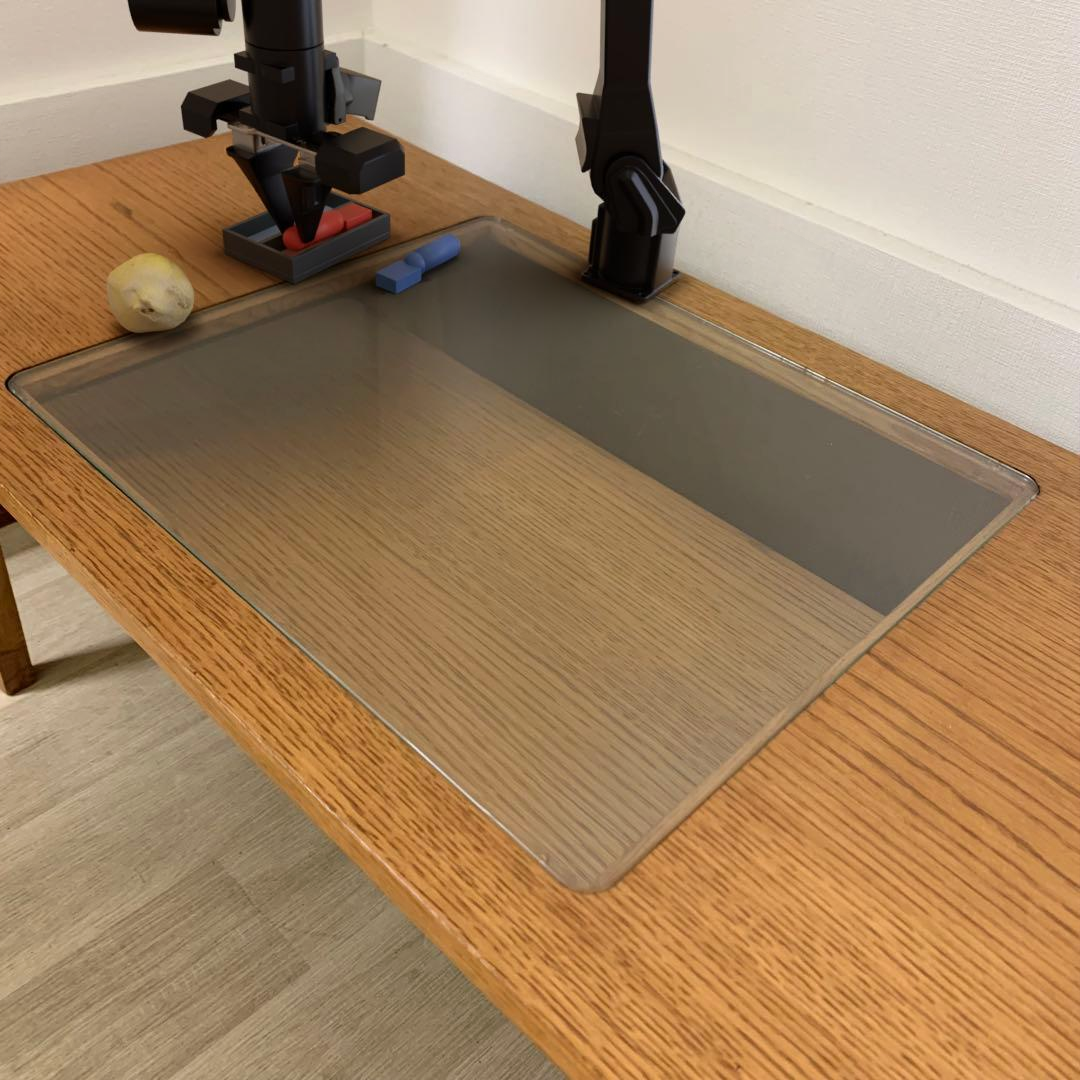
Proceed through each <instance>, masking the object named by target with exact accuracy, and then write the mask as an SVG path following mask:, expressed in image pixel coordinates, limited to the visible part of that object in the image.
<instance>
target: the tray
mask: <svg viewBox="0 0 1080 1080" xmlns="http://www.w3.org/2000/svg"><path fill="white" fill-rule="evenodd" d="M351 203H354V204H357V205H360V206H362V207H365V208H367V209H370V210H371V211H372V220H370V221H368V222H366V223H364V224H362V225H359V226H357V227H355V228H353V229H351V230H349V231H347V232H344V233H343V232H339V233H337V234H335V235H333V236H331V237H329V238H326V239H324V240H322V241H320V242H318V243H316V244H314V245H311V246H309V247H307V248H305V249H303V250H301V251H291V250H289V249H288V248H287V247H286V246H285V245H284V243H283V234H281V232H280V231H279V229H278V227H277V226H276V224H275V222H274V221H273V219H272V217H271V216H270V214H269V212H268V211H267V210H265V211H262V212H260V213H258V214H255V215H253V216H250V217H248V218H246V219H243V220H241V221H238V222H235V223H233V224H231V225H229V226H226V227H224V228H222V229H221V233H222V242H223V243H222V244H223V251H224V254H225V255H227V256H229V257H232V258H233V259H235V260H239V261H241V262H243V263H245V264H247V265H249V266H252V267H254V268H256V269H259V270H261V271H263V272H265V273H268V274H269V275H272V276H274V277H277V278H278V279H281V280H282V281H285V282H287V283H290V284H292V285H296V284H298V283H300V282H302V281H303V280H306V279H308V278H310V277H312V276H314V275H316V274H318V273H321V272H322V271H325V270H326V269H328V268H330V267H333V266H334V265H336V264H339V263H340V262H343V261H345V260H347V259H349V258H351V257H353V256H355V255H357V254H359V253H361V252H363V251H366V250H367V249H370V248H371V247H374V246H375V245H378V244H379V243H382V242H383V241H386V240H388V239H390V238H391V237H392V236H391V235H392V234H391V229H392V228H391V227H392V226H391V224H392V223H391V213H389V212H387V211H385V210H382V209H379V208H377V207H374V206H372V205H369V204H367V203H364V202H361V201H359V200H357V199H354V198H351V197H348V196H346V195H344V194H341V193H338V192H336V191H334V190H331V192H330V194H329V196H328V199H327V202H326V205H325V208H324V211H323V212H325V211H328V210H335V211H336V210H338V209H340V208H343V207H345V206H347V205H349V204H351ZM294 225H295V222H294Z"/></svg>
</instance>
